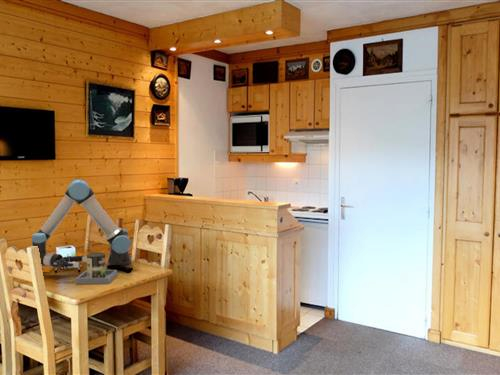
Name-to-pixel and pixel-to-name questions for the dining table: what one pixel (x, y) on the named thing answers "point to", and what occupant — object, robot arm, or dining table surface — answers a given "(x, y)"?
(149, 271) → the dining table surface
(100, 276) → the coffee can
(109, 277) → the tray
